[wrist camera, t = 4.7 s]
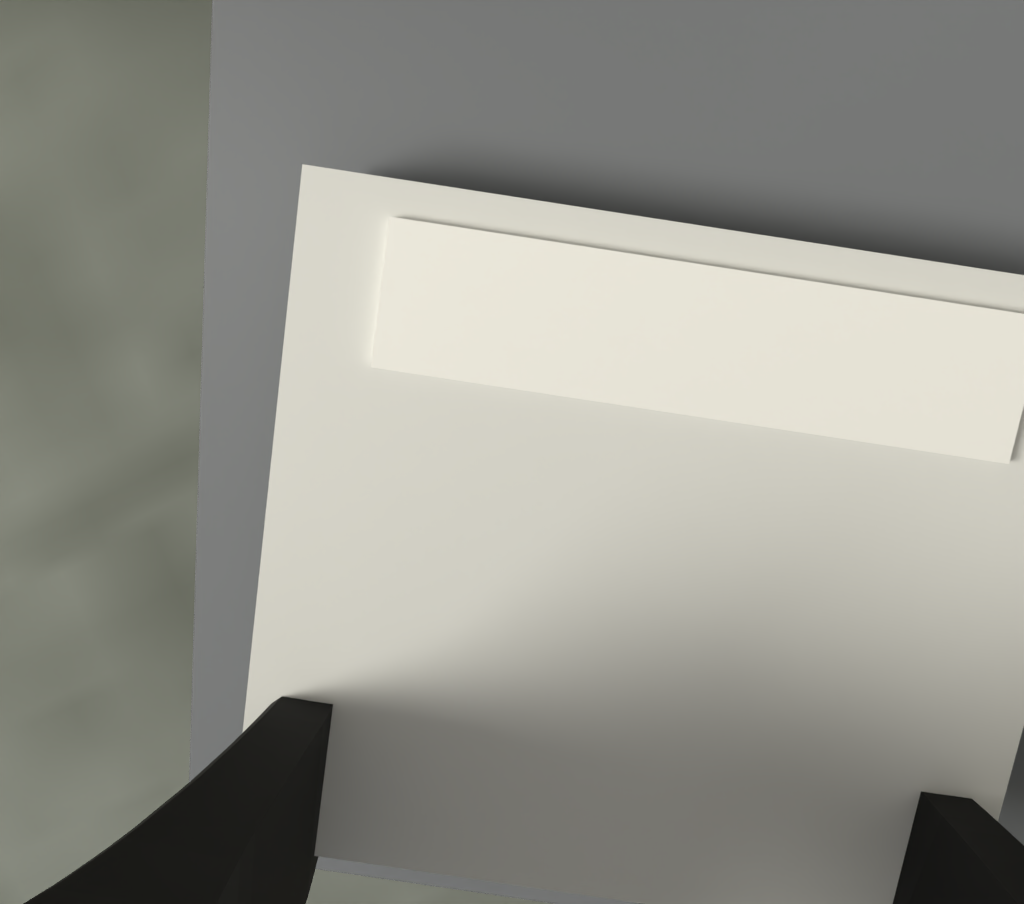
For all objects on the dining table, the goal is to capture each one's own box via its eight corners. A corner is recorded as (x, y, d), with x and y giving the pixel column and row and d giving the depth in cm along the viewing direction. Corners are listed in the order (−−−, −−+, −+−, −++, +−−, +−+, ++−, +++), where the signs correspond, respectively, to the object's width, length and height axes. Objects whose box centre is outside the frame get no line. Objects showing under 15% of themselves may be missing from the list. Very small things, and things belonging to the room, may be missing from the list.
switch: (929, 897, 13) (968, 958, 12) (254, 799, 13) (227, 850, 12) (1088, 290, 11) (1149, 293, 10) (321, 173, 11) (299, 162, 10)
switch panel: (1455, 929, 18) (1632, 1095, 15) (235, 750, 18) (170, 883, 15) (1964, 157, 13) (2380, 179, 10) (278, -108, 13) (193, -166, 10)
